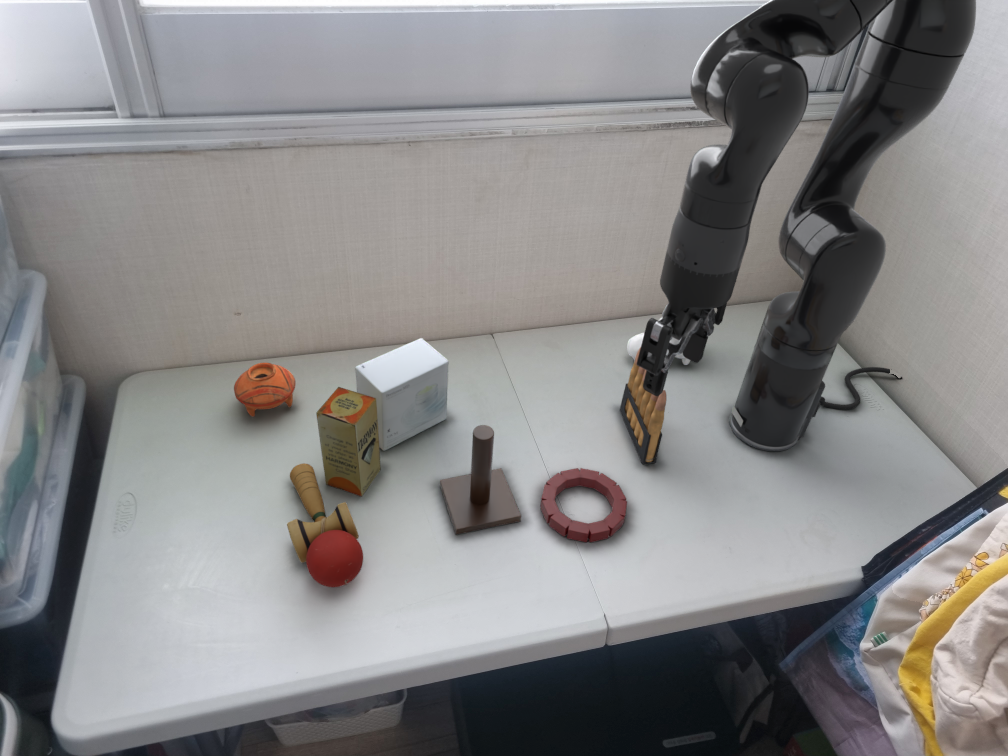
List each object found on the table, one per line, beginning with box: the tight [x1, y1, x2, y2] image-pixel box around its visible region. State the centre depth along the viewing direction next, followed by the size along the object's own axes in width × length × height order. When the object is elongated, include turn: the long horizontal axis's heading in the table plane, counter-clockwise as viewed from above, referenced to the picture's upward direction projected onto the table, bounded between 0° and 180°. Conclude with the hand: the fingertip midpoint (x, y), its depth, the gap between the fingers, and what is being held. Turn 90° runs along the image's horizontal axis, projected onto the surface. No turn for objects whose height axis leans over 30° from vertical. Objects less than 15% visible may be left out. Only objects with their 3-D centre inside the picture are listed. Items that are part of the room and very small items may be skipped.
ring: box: [540, 467, 628, 543], centre depth 93 cm, size 10×10×2 cm
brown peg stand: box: [439, 424, 522, 536], centre depth 90 cm, size 8×8×12 cm
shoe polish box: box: [316, 386, 382, 498], centre depth 92 cm, size 5×5×12 cm
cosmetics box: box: [354, 337, 450, 452], centre depth 100 cm, size 10×6×10 cm, turn 131°
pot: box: [233, 362, 296, 417], centre depth 103 cm, size 8×8×7 cm
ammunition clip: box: [619, 347, 667, 465], centre depth 100 cm, size 11×2×12 cm, turn 10°
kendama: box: [286, 463, 364, 588], centre depth 87 cm, size 8×6×18 cm
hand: (672, 374), depth 88 cm, fingers open, 8 cm apart
